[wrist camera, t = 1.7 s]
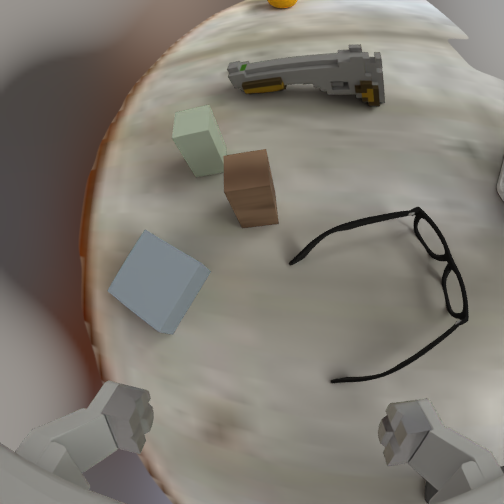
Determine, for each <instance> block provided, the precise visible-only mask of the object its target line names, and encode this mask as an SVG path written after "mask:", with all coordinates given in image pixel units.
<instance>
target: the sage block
mask: <svg viewBox="0 0 504 504" xmlns="http://www.w3.org/2000/svg"><path fill="white" fill-rule="evenodd" d="M172 139H173V141H174V142H175V144H176V145H177V147H178V149H179V150H180V152H181V154H182V155H183V157H184V159H185V160H186V162H187V164H188V165H189V167H190V168H191V170H192V172H193V173H194V175H195V177H201V176H206V175H212V174H218V173H224V159H223V156H226V145H225V143H224V140H223V138H222V135H221V133H220V130H219V128H218V125H217V123H216V120H215V118H214V115H213V113H212V110H211V108H210V105H205V106H201V107H196V108H192V109H188V110H184V111H180V112H176V113H175V119H174V126H173V134H172Z"/></svg>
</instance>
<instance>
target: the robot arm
mask: <svg viewBox="0 0 504 504" xmlns="http://www.w3.org/2000/svg"><path fill="white" fill-rule="evenodd" d="M497 191H498V194H499V195H500V197H501V198H502V200H503V201H504V160H503V164H502V168H501V172H500V176H499V180H498V183H497ZM150 399H151V398H150V394H149V391H147V390H144V389H140V388H136V387H132V386H128V385H124V384H120V383H116V382H112V381H107V382H105V383H104V385H103V386H102V388H101V389H100V391H99V392H98V394H97V395H96V396H95V398H94V399H93V401H92V402H91V404H90V405H89V407H88V408H87V409H85V408H82V409H80V410H78V411H75V412H73V413H71V414H69V415H66V416H64V417H61V418H59V419H56V420H54V421H52V422H49V423H47V424H44V425H42V426H39V427H37V428H34V429H32V430H31V431H30V432H29V434H28V435H27V437H26V438H25V439H24V441H23V442H22V443H21V444H20V446H19V447H18V449H17V450H16V451H15V452H14V451H12V450H10V449H9V448H7V447H6V446H4V445H3V444H1V443H0V504H126V503H123V502H120V501H117V500H114V499H111V498H108V497H106V496H103V495H100V494H98V493H95V492H93V491H90V490H89V489H90V485H89V483H88V482H87V480H86V479H85V477H84V476H83V474H82V473H83V472H85V471H86V470H88V469H89V468H91V467H92V466H94V465H96V464H97V463H99V462H100V461H102V460H103V459H105V458H106V457H107V456H109V455H110V454H112V453H113V452H115V451H116V450H117V448H119V449H122V450H126V451H130V452H134V453H138V454H140V453H141V451H142V449H143V446H144V444H145V442H146V439H145V435H144V434H146V433H148V432H149V431H150V430H151V427H152V424H153V419H154V412H153V407H152V406H151V405H150V404H149V401H150ZM386 413H387V416H385V417H384V418H383V419H382V420H381V422H380V424H379V429H378V437H379V441H380V443H381V444H382V445H383V446H385V449H384V451H383V454H384V457H385V460H386V463H387V466H390V465H397V464H403V463H408V464H409V465H410V466H411V467H412V468H413V469H414V470H416V471H417V472H418V473H419V474H420V475H421V476H422V477H423V478H424V479H426V480H427V481H428V482H429V483H430V484H431V485H432V486H433V487H435V488H436V489H437V490H438V492H437V493H436V494H435V495H434V496H433V497H432V498H431V499H430V501H429V504H504V473H503V471H502V469H501V468H500V466H499V464H498V462H497V460H496V459H495V457H494V455H493V453H492V452H491V451H489V450H487V449H486V448H484V447H482V446H480V445H479V444H477V443H475V442H473V441H472V440H470V439H468V438H466V437H465V436H463V435H461V434H460V433H458V432H456V431H454V430H453V429H451V428H449V427H444V425H443V423H442V421H441V419H440V417H439V416H438V414H437V412H436V410H435V409H434V407H433V405H432V403H431V402H430V400H429V399H427V398H426V399H419V400H412V401H405V402H396V403H390V404H389V405H388V407H387V409H386Z"/></svg>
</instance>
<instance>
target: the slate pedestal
mask: <svg viewBox="0 0 504 504" xmlns="http://www.w3.org/2000/svg"><path fill="white" fill-rule="evenodd" d="M210 272H211V271H210V270H209V269H208V268H206V267H205V266H204V265H203V264H202V263H201V262H199V261H197V260H195V259H194V258H192V257H190V256H189V255H187V254H185V253H184V252H182V251H180V250H179V249H177V248H175V247H173V246H172V245H170V244H168V243H167V242H165V241H163V240H162V239H160V238H158V237H157V236H155V235H153V234H152V233H150V232H149V231H147V230H144V232H143V233H142V235H141V236H140V238H139V239H138V241H137V243H136V244H135V246H134V247H133V249H132V250H131V252H130V254H129V255H128V257H127V259H126V260H125V262H124V264H123V265H122V267H121V269H120V270H119V272H118V274H117V275H116V277H115V279H114V280H113V282H112V284H111V286H110V287H109V289H108V292H109V293H110V294H112V295H113V296H114V297H115V298H116V299H118V300H119V301H120V302H121V303H123V304H124V305H125V306H126V307H127V308H129V309H130V310H131V311H132V312H134V313H135V314H136V315H137V316H139V317H140V318H141V319H143V320H144V321H145V322H146V323H148V324H149V325H150V326H152V327H153V328H154V329H156V330H157V331H158V332H161V333H167V334H173V333H174V332H175V330H176V328H177V327H178V325H179V323H180V322H181V320H182V318H183V317H184V315H185V313H186V312H187V310H188V308H189V307H190V305H191V303H192V302H193V300H194V298H195V297H196V295H197V293H198V292H199V290H200V289H201V287H202V285H203V284H204V282H205V280H206V279H207V277H208V276H209V274H210Z"/></svg>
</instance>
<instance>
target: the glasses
mask: <svg viewBox="0 0 504 504" xmlns="http://www.w3.org/2000/svg"><path fill="white" fill-rule="evenodd" d="M413 215H416V216H415V219H414V232H415V234H416V236H417V238H418V239H419V240H420V242H421V243H422V244H423V246H424V247H425V249H426V250H427V252H428V253H429V255H430V256H431V257H432V258H434V259H436V260H438V261H447V262H448V264H447V266H446V268H445V270H444V273H443V277H442V286H443V290H444V294H445V299H446V306H447V310H448V312H449V313H450V315H451V316H453V317H454V318H458V319H460V320H459V321H456V323H455V324H454V325H453V326H452V327H451V328H450V329H448V330H447V331H446V332H445V333H443V334H442V335H441V336H440V337H438V338H437V339H436V340H434V341H433V342H432V343H430V344H429V345H427V346H426V347H425V348H423V349H422V350H421V351H419V352H418V353H416V354H415V355H413V356H412V357H410V358H408V359H407V360H405V361H403V362H401V363H400V364H398V365H397V366H395V367H394V368H392V369H390V370H388V371H386V372H384V373H381V374H377V375H372V376H363V377H345V378H339V379H335V380H331V383H342V382H360V381H367V380H372V379H377V378H380V377H383V376H386V375H389V374H391V373H393V372H396V371H398V370H400V369H401V368H403V367H405V366H407V365H408V364H410V363H412V362H413V361H415V360H416V359H418V358H419V357H421V356H422V355H424V354H425V353H427V352H428V351H429V350H431V349H432V348H433V347H434V346H436V345H437V344H438V343H440V342H441V341H442V340H444V339H445V338H446V337H447V336H448V335H450V334H451V333H452V332H453V331H454V330H455V329H456V328H457V327H458V326H459V325H462V324H464V323H466V322H467V321H468V317H469V316H468V301H467V295H466V290H465V286H464V282H463V279H462V277H461V274H460V272H459V270H458V268H457V266H456V264H455V262H454V260H453V258H452V255H451V253H450V250H449V248H448V245H447V243H446V241H445V238H444V237H443V235H442V233H441V231H440V230H439V229H438V227H437V226H436V224H435V223H434V222H433V221H432V219H431V218H430V217H429V216H428V215H427V214H426V213H425V212H424V211H423V210H422V209H421V208H420V207H416V208H413V209H411V210H409V211H400V212H394V213H388V214H383V215H378V216H372V217H367V218H363V219H359V220H355V221H351V222H348V223H345V224H342V225H339V226H336V227H334V228H332V229H330V230H328V231H326V232H324V233H323V234H321V235H319V236H318V237H317V238H315V239H314V240H313V241H311V242H310V243H309V244H308V245H307V246H306V247H305V248H304V249H303V250H302V251H301V252H300V253H299V254H298V255H297V256H296V257H295V258H294V259H292V260H291V261H290V262H289V264H290V265H293V264H295V263H297V262H298V261H300V260H302V259H303V258H305V257H306V255H307V254H308V253H309V252H310V251H311V250H312V249H313V248H314V247H315V246H316V245H317V244H318V243H319V242H320V241H321V240H322V239H323V238H325V237H326V236H328V235H329V234H331V233H334V232H337V231H343V230H349V229H353V228H356V227H359V226H363V225H367V224H372V223H376V222H381V221H385V220H389V219H394V218H399V217H404V216H413ZM421 218H423V219H425V220H426V221H427V222H428V223H429V224H430V225H431V226H432V228H433V229H434V230H435V232H436V233H437V235H438V236H439V238H440V240H441V242H442V244H443V246H444V250H445V254H444V255H436V254H434V253H433V252H432V251H431V250H430V249H429V248H428V246H427V245H426V243H425V242H424V240H423V239H422V237H421V235H420V233H419V231H418V228H417V226H418V222H419V220H420V219H421ZM451 270H453V271H454V272H455V274H456V276H457V278H458V281H459V284H460V287H461V292H462V297H463V311H462V312H461V313H454V312H453V311H452V309H451V306H450V303H449V299H448V294H447V289H446V280H447V277H448V275H449V273H450V271H451Z"/></svg>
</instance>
